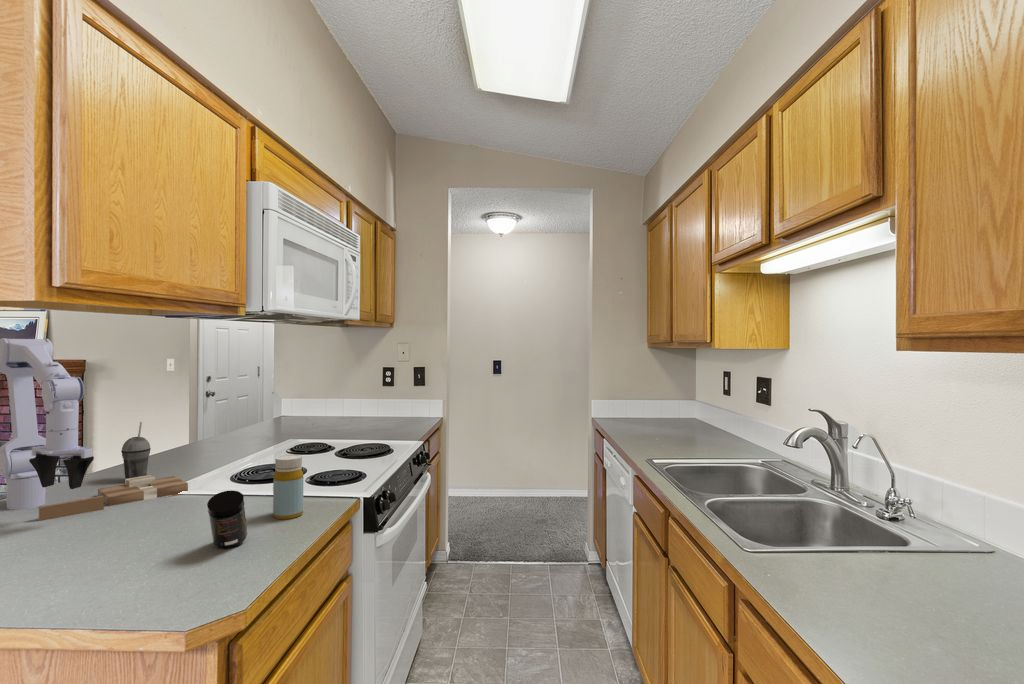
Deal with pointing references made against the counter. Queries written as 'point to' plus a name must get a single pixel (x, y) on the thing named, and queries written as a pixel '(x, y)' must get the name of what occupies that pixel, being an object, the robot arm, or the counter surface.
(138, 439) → the beverage cup
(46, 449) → the robot arm
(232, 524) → the supplement container
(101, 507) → the wooden l-shaped bracket
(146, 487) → the wooden block stack
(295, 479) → the bottle
